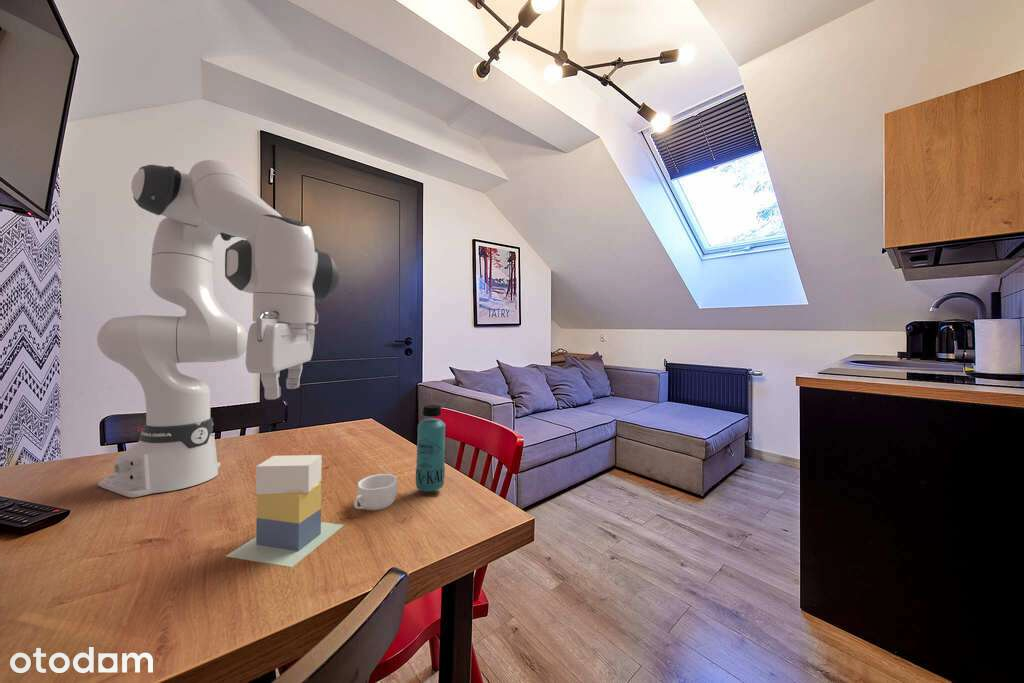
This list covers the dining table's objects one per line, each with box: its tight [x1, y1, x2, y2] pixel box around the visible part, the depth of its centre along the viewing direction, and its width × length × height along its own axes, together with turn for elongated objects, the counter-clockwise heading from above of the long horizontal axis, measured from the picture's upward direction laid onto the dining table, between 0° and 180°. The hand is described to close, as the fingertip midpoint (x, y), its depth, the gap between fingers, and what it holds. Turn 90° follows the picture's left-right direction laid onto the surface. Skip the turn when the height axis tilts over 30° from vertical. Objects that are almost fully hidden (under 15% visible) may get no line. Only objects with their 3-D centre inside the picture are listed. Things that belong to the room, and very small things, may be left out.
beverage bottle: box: [415, 404, 446, 492], centre depth 81 cm, size 6×7×20 cm
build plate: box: [225, 521, 345, 568], centre depth 60 cm, size 12×12×1 cm
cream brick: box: [255, 454, 323, 495], centre depth 60 cm, size 8×5×4 cm, turn 97°
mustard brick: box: [256, 482, 322, 524], centre depth 60 cm, size 8×5×4 cm, turn 80°
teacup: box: [353, 473, 398, 511], centre depth 72 cm, size 10×8×5 cm
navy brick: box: [255, 508, 322, 551], centre depth 60 cm, size 8×5×4 cm, turn 80°
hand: (283, 393), depth 61 cm, fingers open, 8 cm apart
